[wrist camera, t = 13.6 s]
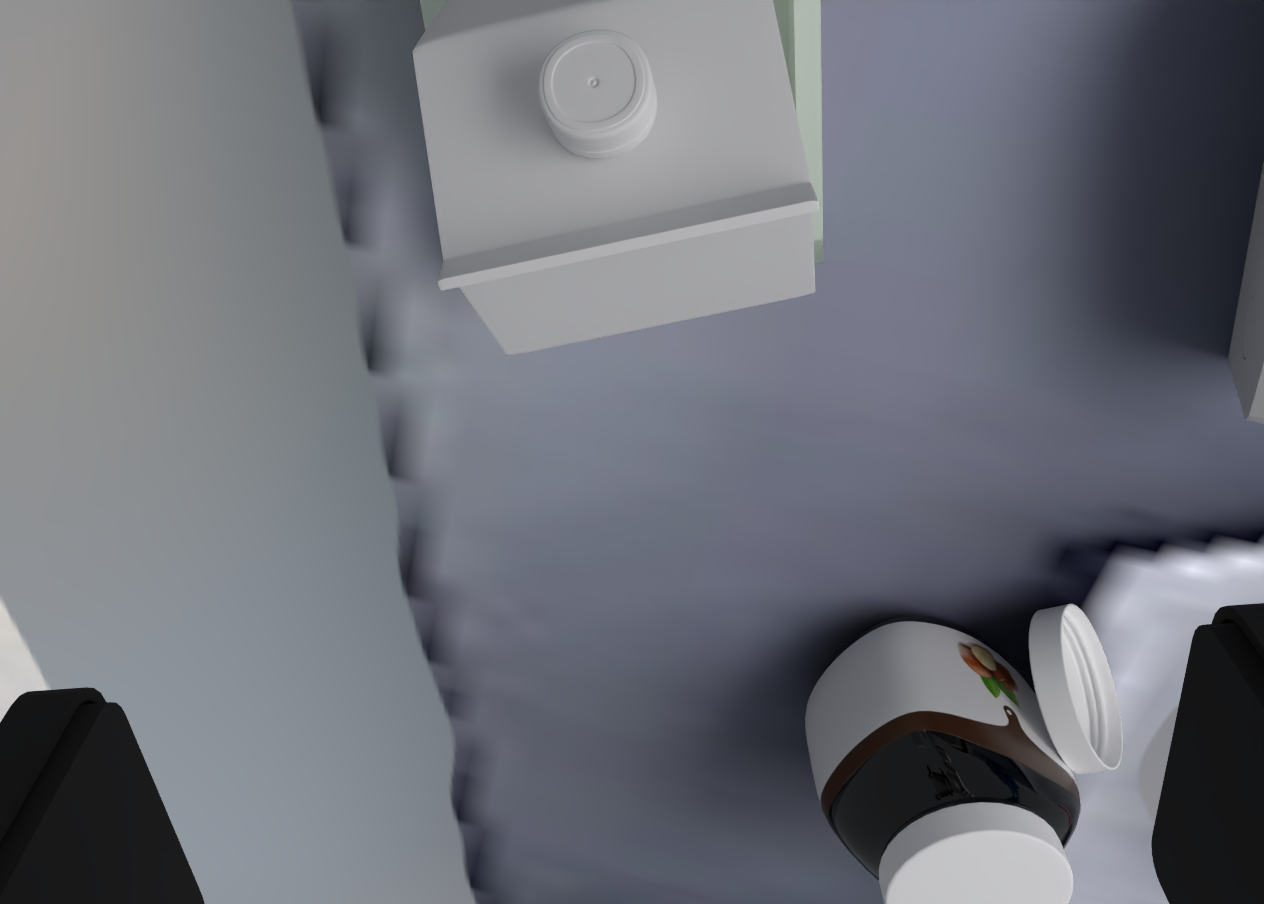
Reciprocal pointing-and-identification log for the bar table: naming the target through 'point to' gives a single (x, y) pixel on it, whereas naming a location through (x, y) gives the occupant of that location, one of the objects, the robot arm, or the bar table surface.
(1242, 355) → the grey piece
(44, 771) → the robot arm
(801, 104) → the tray
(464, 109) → the milk carton
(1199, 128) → the bar table surface
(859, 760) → the spread jar
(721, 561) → the bar table surface
